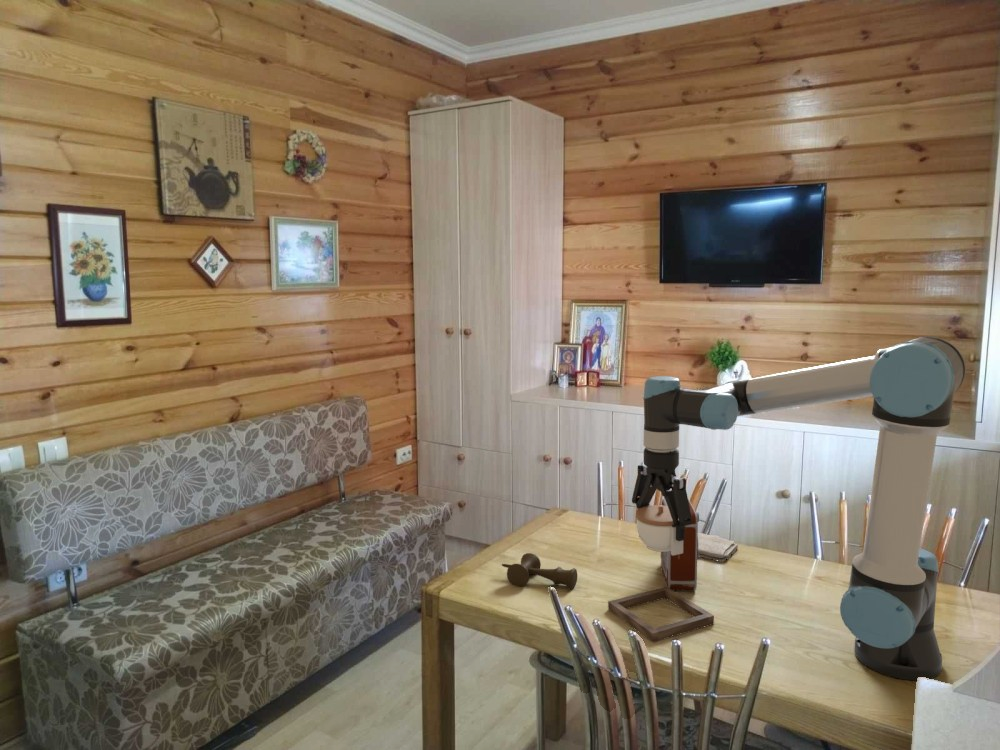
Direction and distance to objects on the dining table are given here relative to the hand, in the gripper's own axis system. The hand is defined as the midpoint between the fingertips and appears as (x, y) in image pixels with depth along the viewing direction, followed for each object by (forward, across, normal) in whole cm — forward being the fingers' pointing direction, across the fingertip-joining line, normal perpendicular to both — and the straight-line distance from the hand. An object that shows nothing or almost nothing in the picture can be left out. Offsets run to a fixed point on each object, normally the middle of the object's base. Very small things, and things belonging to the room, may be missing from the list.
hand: (660, 544), depth 159 cm
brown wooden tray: (+17, 0, 0) cm, 17 cm away
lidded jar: (+1, 0, 0) cm, 1 cm away
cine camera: (+17, +15, -17) cm, 28 cm away
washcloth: (+18, +26, -34) cm, 46 cm away
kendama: (+17, +29, +15) cm, 37 cm away
